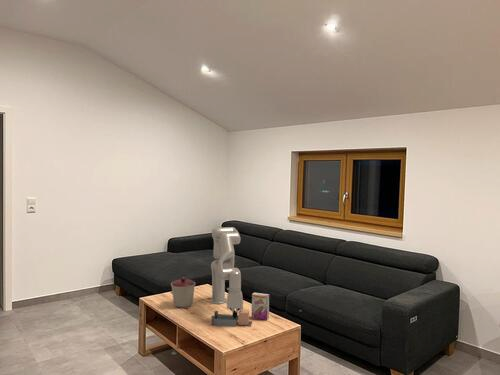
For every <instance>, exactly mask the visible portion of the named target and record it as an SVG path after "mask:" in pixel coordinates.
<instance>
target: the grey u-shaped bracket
mask: <svg viewBox="0 0 500 375" xmlns="http://www.w3.org/2000/svg"><path fill="white" fill-rule="evenodd" d="M213 313H214V315H211V318H210V319H211V324H210V325H211V326H220V327H222V326H224V327H237V322H239V314H237V317H236V319H235V318H233V314H229V313H219V310H214V312H213Z"/></svg>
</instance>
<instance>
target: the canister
mask: <svg viewBox="0 0 500 375" xmlns="http://www.w3.org/2000/svg"><path fill="white" fill-rule="evenodd" d="M170 286H171V292H172V300H173V304H174V306H175V307H177V308H188V307H190V306H192V304H193V301H194V295H195V294H194V293H195V286H196V282H195V281H194V280H192V279H189V278H188V279H186V277H185V276H182V277H180V279H177V280H174V281H172V282H171V283H170Z"/></svg>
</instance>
